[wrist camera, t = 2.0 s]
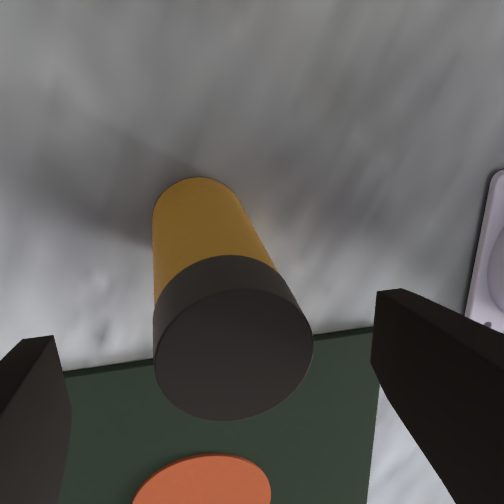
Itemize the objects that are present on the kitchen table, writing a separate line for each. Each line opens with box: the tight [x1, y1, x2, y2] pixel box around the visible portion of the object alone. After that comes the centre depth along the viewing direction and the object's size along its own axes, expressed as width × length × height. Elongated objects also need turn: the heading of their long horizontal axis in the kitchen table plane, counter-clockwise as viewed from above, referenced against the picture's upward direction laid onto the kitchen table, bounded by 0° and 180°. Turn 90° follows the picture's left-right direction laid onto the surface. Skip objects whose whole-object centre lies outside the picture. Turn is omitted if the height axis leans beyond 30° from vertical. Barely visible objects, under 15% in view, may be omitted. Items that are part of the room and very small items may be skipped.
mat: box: [58, 327, 380, 504], centre depth 23 cm, size 16×16×1 cm
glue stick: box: [152, 177, 314, 422], centre depth 14 cm, size 4×4×8 cm
